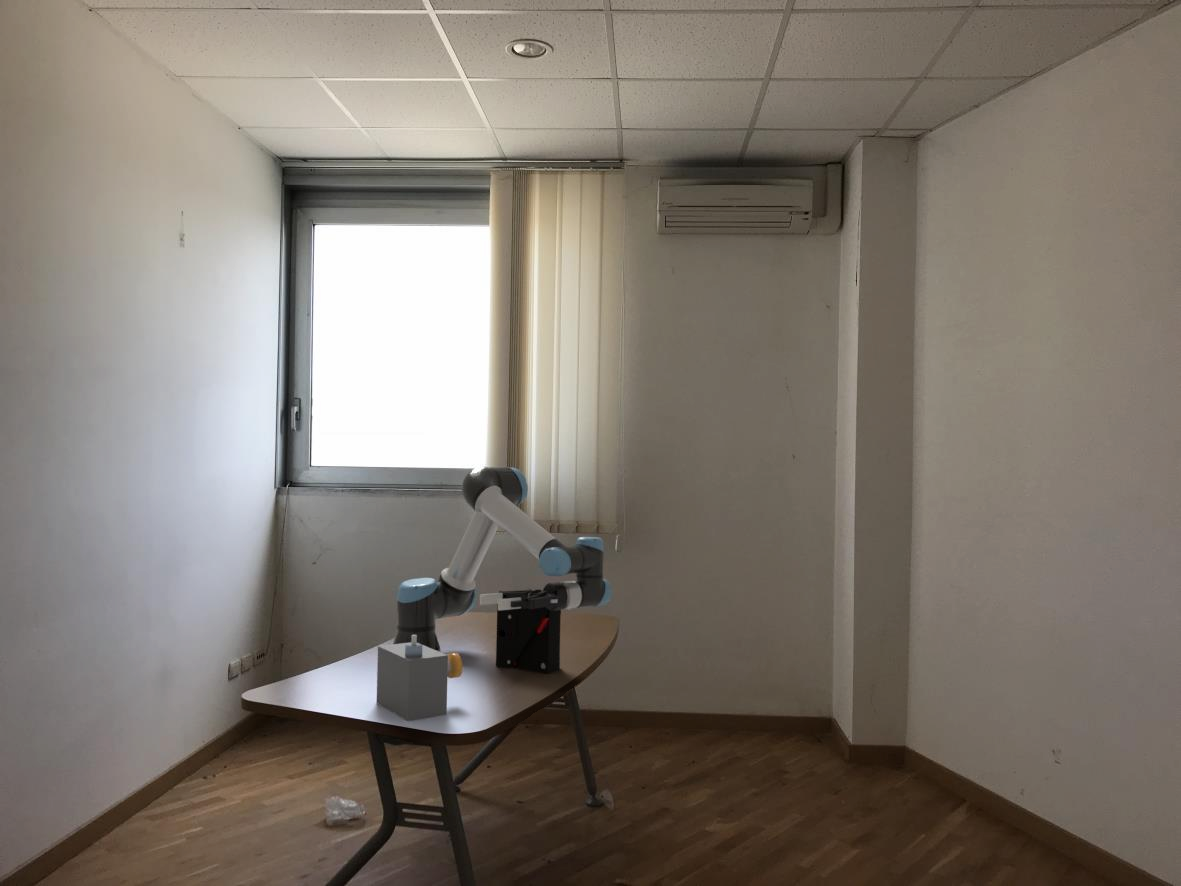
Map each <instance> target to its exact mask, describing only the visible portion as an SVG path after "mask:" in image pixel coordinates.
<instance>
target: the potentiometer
mask: <svg viewBox="0 0 1181 886" xmlns="http://www.w3.org/2000/svg"><path fill="white" fill-rule="evenodd" d="M405 656H406V657H420V656H422V644H417V635H412V640H411V644H407V645H405Z"/></svg>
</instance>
